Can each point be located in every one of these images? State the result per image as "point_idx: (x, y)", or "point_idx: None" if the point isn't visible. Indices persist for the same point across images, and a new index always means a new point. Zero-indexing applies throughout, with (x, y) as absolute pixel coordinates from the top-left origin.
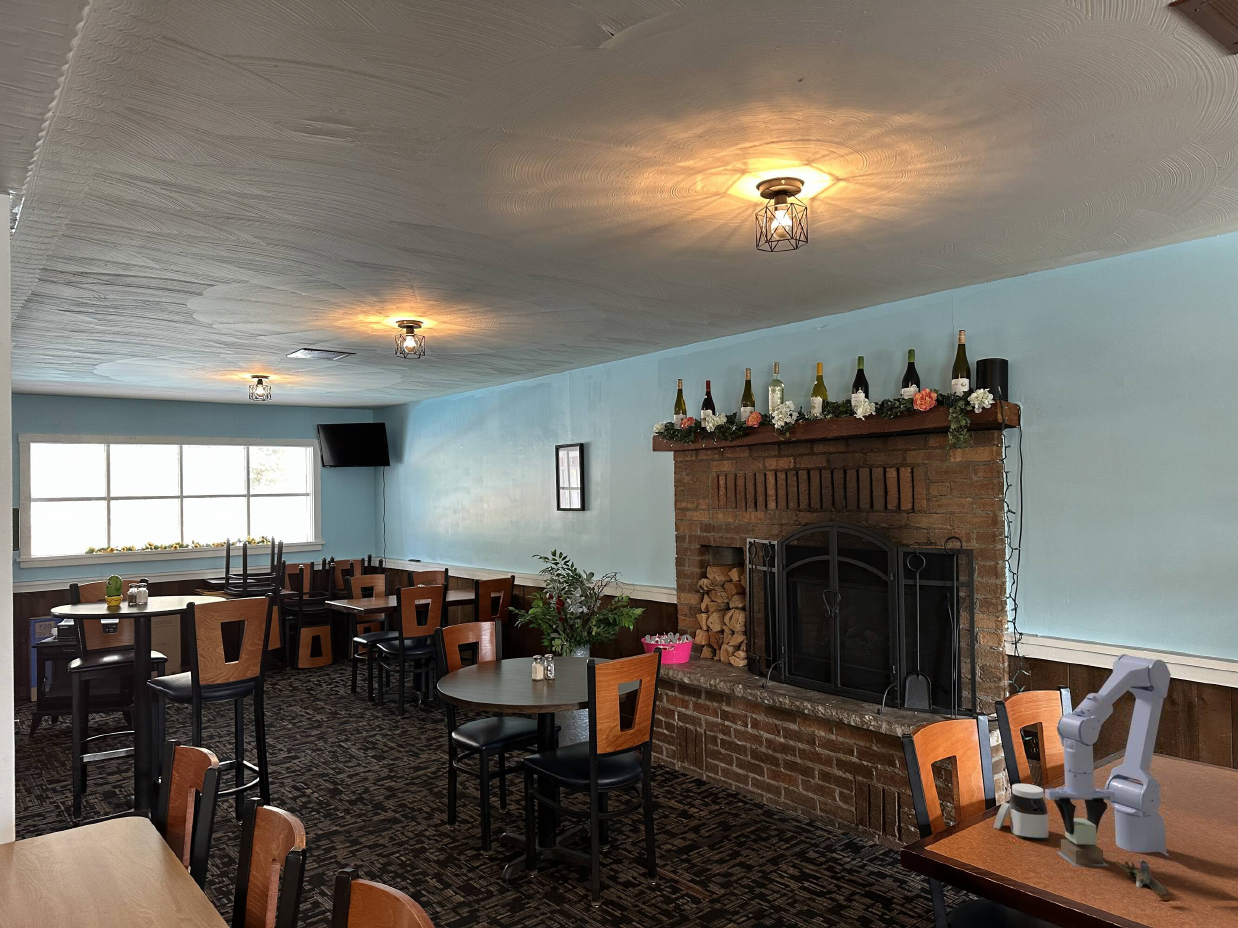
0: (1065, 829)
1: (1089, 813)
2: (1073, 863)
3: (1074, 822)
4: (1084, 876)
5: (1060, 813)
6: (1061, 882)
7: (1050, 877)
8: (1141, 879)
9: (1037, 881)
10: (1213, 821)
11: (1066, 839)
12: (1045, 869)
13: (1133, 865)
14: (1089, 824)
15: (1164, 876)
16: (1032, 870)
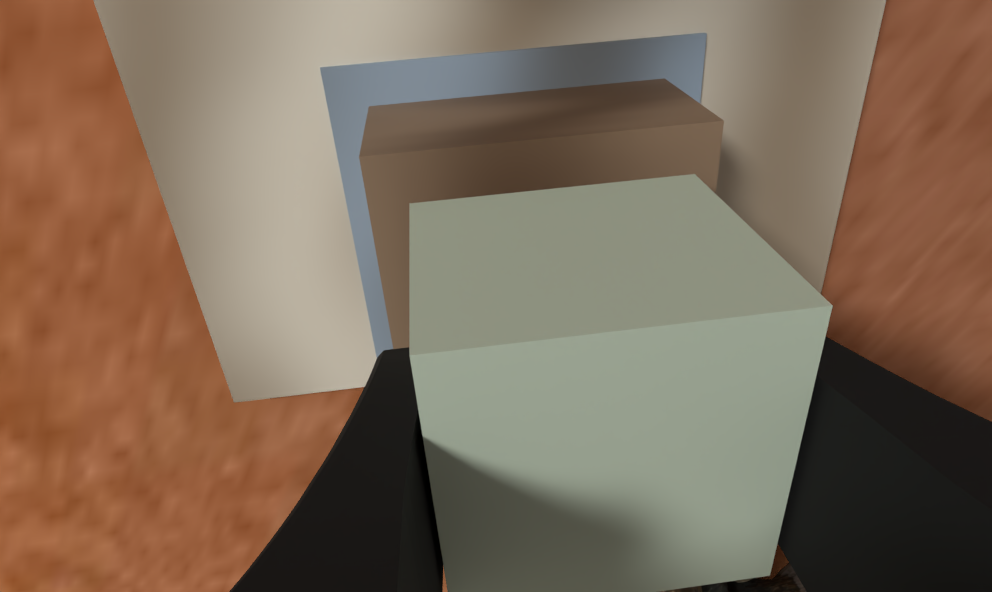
0: (373, 368)
1: (900, 544)
2: (391, 340)
3: (498, 522)
4: None
5: (270, 545)
6: (208, 547)
7: (147, 496)
8: None
9: (40, 559)
10: None
11: (438, 151)
12: (136, 381)
13: (739, 582)
14: (696, 556)
15: (974, 375)
16: (19, 412)
